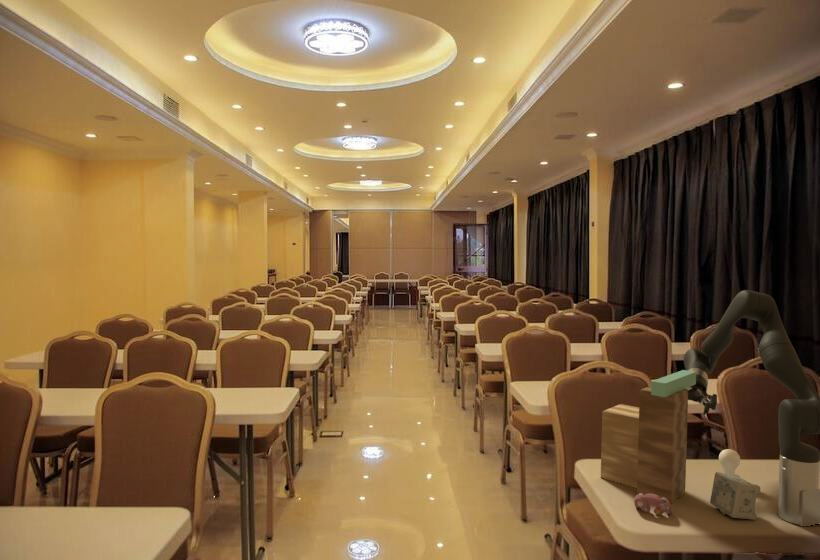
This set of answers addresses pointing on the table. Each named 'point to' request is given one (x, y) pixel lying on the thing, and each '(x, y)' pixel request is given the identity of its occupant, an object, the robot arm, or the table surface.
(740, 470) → the table surface
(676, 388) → the bar
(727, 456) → the lightbulb
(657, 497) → the pink animal figurine
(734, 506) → the grey speckled block
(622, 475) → the oak block
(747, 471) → the table surface
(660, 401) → the walnut stand
